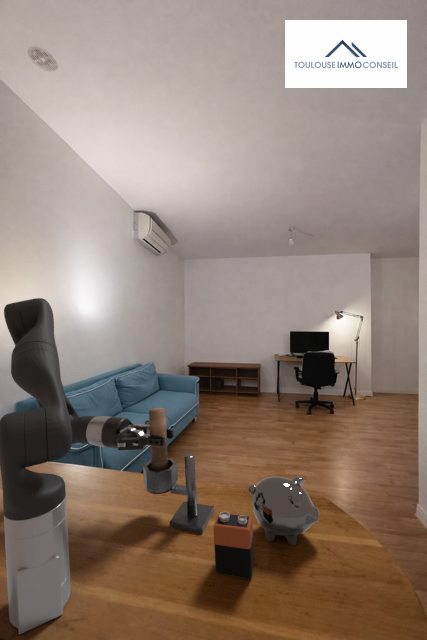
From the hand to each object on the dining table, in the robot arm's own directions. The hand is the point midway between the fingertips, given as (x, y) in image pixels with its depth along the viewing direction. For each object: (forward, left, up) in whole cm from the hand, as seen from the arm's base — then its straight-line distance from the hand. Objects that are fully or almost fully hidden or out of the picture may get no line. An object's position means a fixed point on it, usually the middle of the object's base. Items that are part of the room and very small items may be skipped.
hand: (168, 437), depth 74 cm
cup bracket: (-1, -1, -19) cm, 19 cm away
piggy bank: (-19, -18, -19) cm, 33 cm away
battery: (-21, -4, -19) cm, 29 cm away
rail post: (+2, +2, -9) cm, 10 cm away
